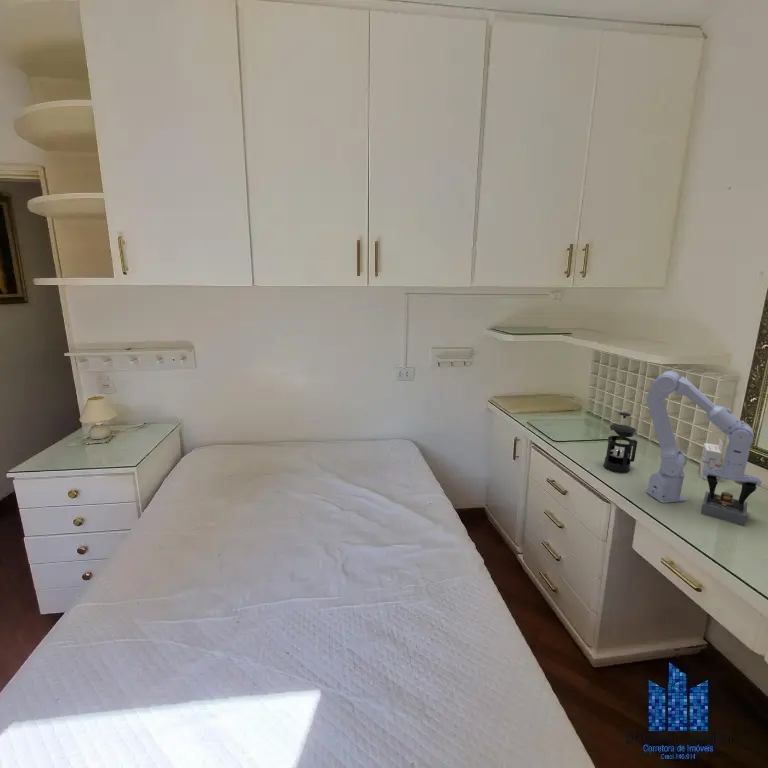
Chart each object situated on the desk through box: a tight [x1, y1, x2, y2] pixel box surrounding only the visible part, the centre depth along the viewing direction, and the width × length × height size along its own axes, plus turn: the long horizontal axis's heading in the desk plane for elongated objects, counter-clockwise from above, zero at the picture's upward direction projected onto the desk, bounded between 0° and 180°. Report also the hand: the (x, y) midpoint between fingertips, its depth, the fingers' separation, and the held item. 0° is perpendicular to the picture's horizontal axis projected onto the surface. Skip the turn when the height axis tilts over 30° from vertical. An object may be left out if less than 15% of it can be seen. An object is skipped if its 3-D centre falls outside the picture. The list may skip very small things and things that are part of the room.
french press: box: [603, 411, 638, 474], centre depth 170 cm, size 12×9×23 cm
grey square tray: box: [700, 490, 748, 527], centre depth 141 cm, size 11×11×4 cm
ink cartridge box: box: [698, 438, 724, 480], centre depth 166 cm, size 9×5×15 cm, turn 151°
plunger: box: [709, 491, 739, 513], centre depth 141 cm, size 8×8×6 cm
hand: (725, 500), depth 141 cm, fingers open, 7 cm apart
